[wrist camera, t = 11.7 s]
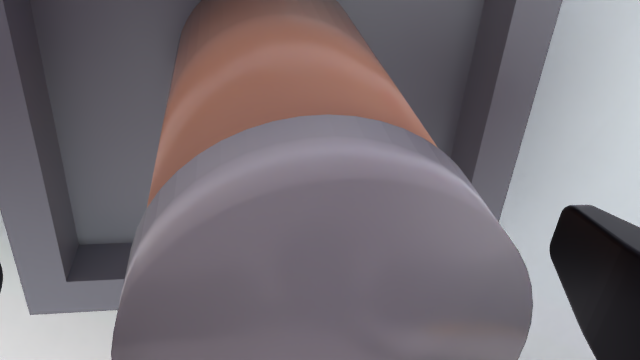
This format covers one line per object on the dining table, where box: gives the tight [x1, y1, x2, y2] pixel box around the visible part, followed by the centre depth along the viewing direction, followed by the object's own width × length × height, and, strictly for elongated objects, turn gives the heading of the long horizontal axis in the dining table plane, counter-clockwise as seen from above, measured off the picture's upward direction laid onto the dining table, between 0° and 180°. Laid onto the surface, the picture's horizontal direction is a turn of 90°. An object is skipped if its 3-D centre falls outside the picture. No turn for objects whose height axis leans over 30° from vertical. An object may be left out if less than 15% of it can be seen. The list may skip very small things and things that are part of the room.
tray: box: [0, 0, 562, 315], centre depth 15 cm, size 14×14×2 cm
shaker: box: [111, 0, 533, 360], centre depth 11 cm, size 5×5×10 cm
